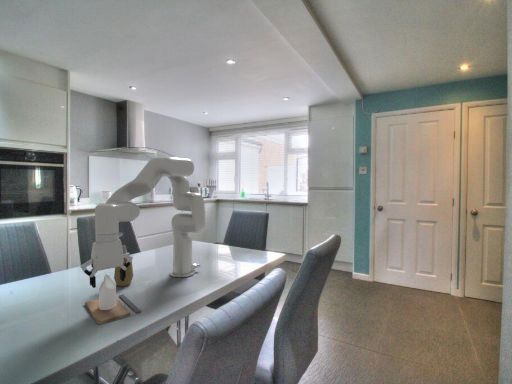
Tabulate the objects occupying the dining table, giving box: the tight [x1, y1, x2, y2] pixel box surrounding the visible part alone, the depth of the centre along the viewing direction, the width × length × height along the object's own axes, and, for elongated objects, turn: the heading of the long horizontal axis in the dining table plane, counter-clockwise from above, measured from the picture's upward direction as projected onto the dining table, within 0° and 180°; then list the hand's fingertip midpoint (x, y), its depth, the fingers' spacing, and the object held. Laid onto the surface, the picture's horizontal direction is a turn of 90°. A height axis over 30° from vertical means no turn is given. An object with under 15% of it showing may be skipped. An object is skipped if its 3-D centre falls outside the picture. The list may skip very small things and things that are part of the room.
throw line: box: [118, 294, 142, 314], centre depth 108 cm, size 2×20×1 cm, turn 42°
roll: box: [98, 274, 117, 310], centre depth 103 cm, size 6×12×6 cm
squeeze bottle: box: [113, 244, 134, 287], centre depth 128 cm, size 8×8×18 cm
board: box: [84, 298, 131, 325], centre depth 103 cm, size 10×20×1 cm, turn 42°
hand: (108, 283), depth 103 cm, fingers open, 9 cm apart
